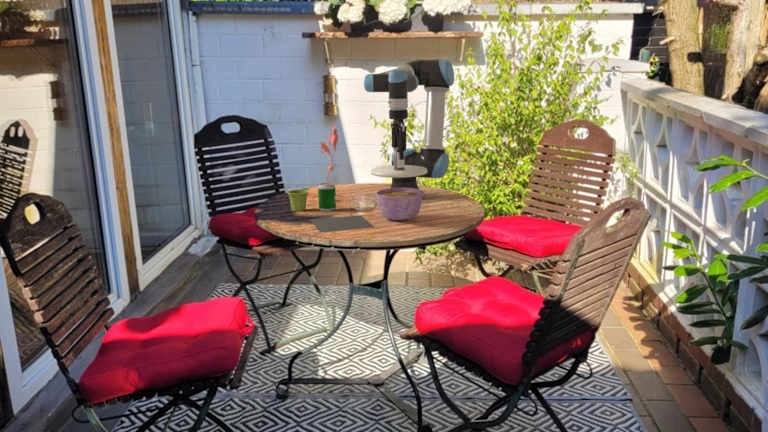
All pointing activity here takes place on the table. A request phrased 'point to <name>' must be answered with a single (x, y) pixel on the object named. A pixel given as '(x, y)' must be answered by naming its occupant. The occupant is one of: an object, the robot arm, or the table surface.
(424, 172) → the lid
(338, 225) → the mat
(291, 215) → the table surface
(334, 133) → the red flower stem
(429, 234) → the table surface
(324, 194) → the soda can
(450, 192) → the table surface
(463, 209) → the table surface
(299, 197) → the plant pot
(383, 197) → the bowl of food
